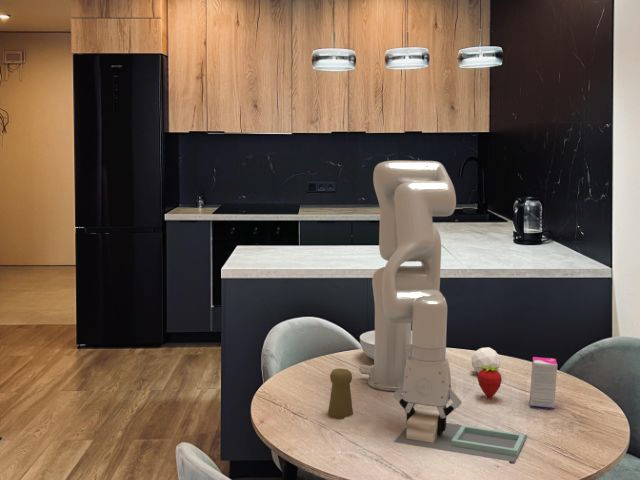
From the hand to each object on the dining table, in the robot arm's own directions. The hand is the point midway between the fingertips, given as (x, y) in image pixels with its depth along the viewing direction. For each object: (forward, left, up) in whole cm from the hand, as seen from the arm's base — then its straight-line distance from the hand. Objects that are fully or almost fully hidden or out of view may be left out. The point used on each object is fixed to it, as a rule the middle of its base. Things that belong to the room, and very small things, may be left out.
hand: (425, 430), depth 190 cm
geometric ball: (+3, +50, -1) cm, 50 cm away
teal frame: (+14, 0, -1) cm, 14 cm away
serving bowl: (-24, +53, -1) cm, 58 cm away
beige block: (0, 0, -1) cm, 1 cm away
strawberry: (+8, +30, -1) cm, 31 cm away
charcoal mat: (+8, 0, -1) cm, 8 cm away
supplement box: (+21, +31, -1) cm, 37 cm away
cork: (-22, +4, -1) cm, 22 cm away
